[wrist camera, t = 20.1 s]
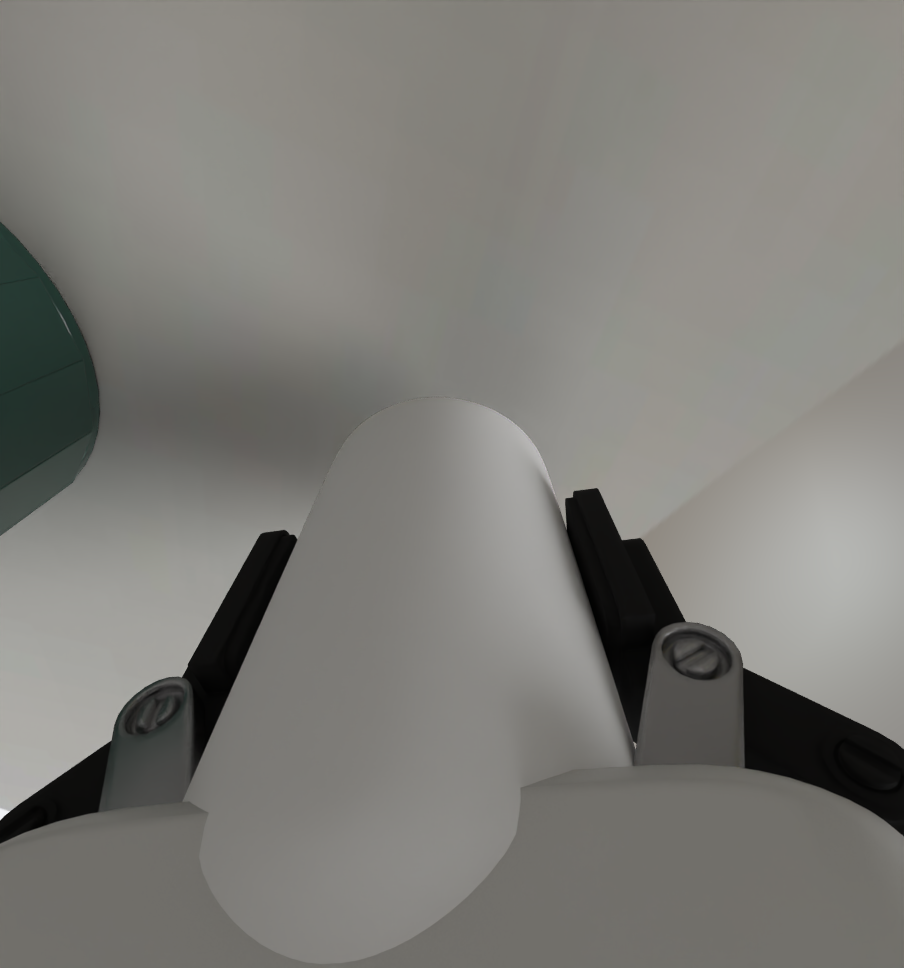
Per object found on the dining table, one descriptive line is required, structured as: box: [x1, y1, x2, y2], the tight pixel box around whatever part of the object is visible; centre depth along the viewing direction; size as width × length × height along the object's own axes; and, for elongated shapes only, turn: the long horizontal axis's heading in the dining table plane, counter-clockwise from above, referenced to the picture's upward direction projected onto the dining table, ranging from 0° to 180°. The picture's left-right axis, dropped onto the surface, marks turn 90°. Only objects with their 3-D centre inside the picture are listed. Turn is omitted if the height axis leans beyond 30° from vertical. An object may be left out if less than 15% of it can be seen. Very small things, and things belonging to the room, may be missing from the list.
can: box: [182, 397, 636, 964], centre depth 10 cm, size 6×6×12 cm
